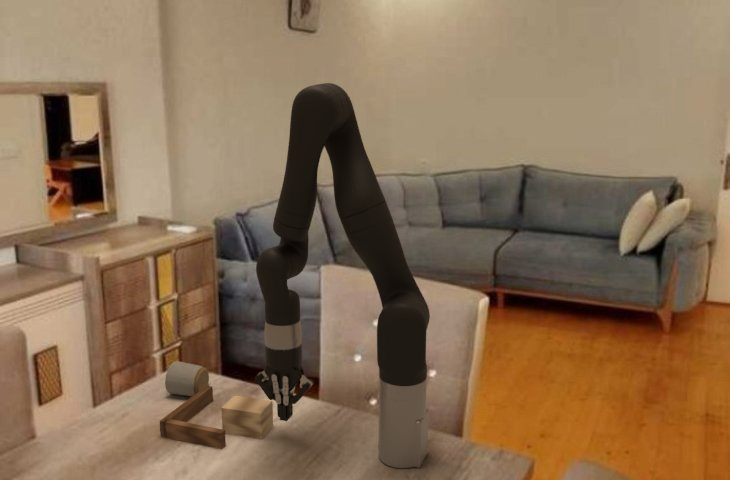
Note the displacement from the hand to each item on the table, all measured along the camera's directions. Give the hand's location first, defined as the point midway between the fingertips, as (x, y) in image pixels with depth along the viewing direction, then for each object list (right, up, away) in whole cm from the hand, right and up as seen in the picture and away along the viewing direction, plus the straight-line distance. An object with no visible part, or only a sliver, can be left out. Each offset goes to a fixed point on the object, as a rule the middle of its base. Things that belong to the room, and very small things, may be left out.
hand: (285, 418), depth 145 cm
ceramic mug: (-25, +1, +22) cm, 33 cm away
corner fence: (-16, -2, +6) cm, 17 cm away
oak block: (-8, -3, +4) cm, 10 cm away
